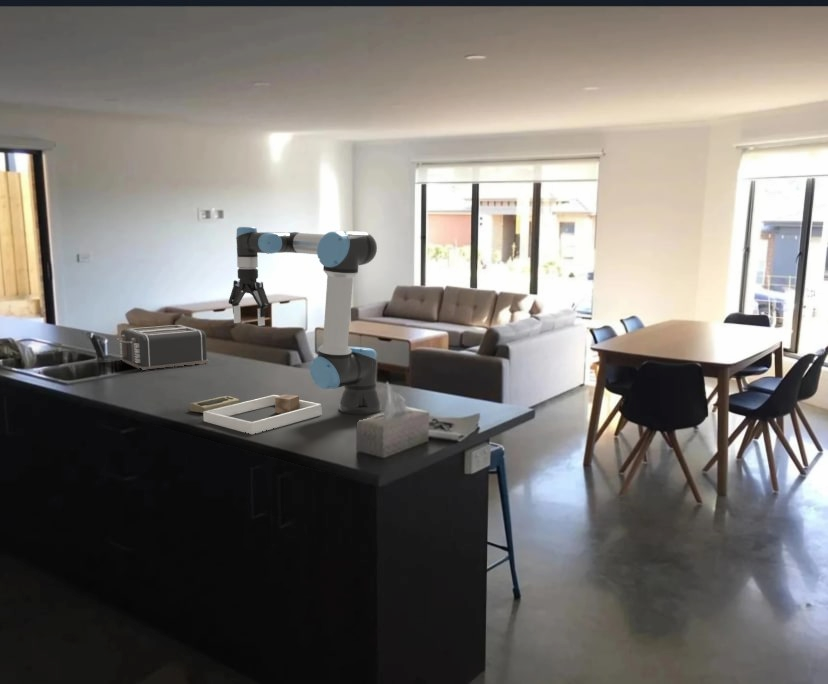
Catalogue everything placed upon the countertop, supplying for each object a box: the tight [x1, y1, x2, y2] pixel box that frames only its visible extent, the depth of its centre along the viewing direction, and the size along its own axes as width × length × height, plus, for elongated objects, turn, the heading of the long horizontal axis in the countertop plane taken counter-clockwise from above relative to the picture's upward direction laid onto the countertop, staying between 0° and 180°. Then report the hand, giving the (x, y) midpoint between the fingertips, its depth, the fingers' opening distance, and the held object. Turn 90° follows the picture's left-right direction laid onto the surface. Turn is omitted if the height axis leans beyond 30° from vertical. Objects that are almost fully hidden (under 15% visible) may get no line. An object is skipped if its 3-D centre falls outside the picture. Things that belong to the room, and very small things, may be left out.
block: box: [274, 393, 300, 415], centre depth 260 cm, size 6×6×6 cm
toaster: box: [116, 324, 210, 370], centre depth 347 cm, size 30×36×17 cm
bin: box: [202, 394, 323, 435], centre depth 252 cm, size 24×32×4 cm
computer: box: [189, 395, 240, 414], centre depth 262 cm, size 16×8×3 cm, turn 142°
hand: (249, 324), depth 279 cm, fingers open, 13 cm apart
